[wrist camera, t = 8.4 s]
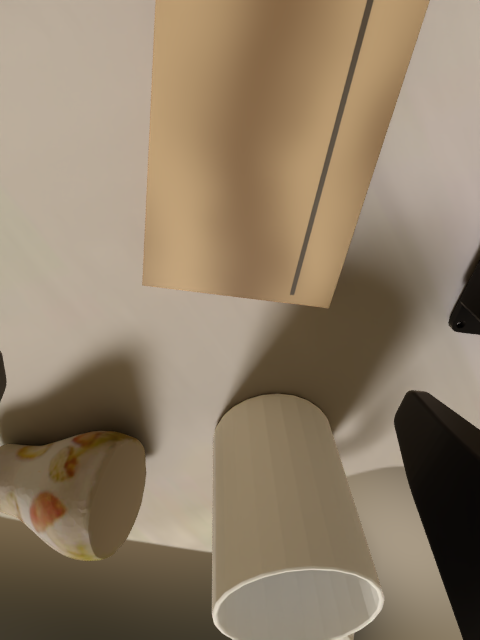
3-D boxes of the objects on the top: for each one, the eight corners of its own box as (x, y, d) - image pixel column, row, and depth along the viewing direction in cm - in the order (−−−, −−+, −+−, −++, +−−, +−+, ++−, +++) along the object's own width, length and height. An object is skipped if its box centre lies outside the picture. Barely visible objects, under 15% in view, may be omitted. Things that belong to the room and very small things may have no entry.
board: (555, -482, 10) (625, -594, 8) (320, 289, 22) (329, 308, 20) (197, -634, 9) (192, -802, 7) (148, 267, 20) (142, 285, 19)
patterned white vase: (-34, 417, 25) (-47, 525, 17) (121, 382, 30) (169, 455, 22) (-12, 512, 28) (-14, 648, 20) (129, 466, 32) (175, 561, 24)
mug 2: (191, 419, 26) (178, 600, 17) (304, 373, 25) (354, 547, 16) (268, 514, 32) (288, 685, 23) (363, 482, 31) (423, 653, 22)
